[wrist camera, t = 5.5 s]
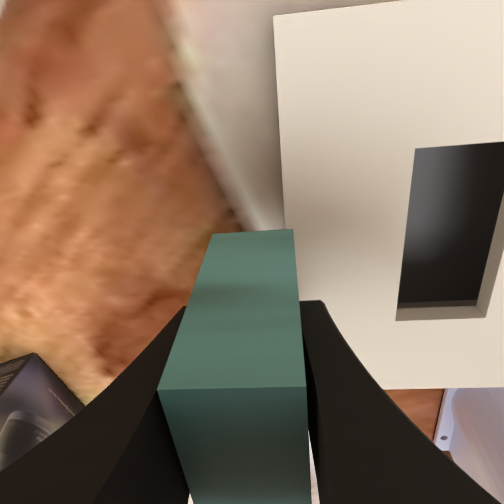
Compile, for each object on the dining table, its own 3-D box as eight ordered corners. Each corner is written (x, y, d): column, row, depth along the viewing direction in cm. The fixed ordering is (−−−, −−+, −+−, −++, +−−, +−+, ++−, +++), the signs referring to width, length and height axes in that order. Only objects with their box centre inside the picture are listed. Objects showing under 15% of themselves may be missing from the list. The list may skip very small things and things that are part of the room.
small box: (122, 439, 30) (54, 611, 21) (60, 455, 32) (-29, 621, 22) (38, 349, 26) (-96, 516, 16) (-30, 372, 27) (-187, 537, 18)
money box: (497, 303, 21) (568, 386, 16) (290, 311, 23) (294, 390, 17) (583, -9, 14) (761, -43, 9) (274, 27, 15) (272, 15, 10)
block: (299, 340, 13) (312, 529, 8) (231, 343, 14) (201, 528, 8) (293, 228, 11) (306, 387, 6) (212, 234, 11) (156, 390, 6)
